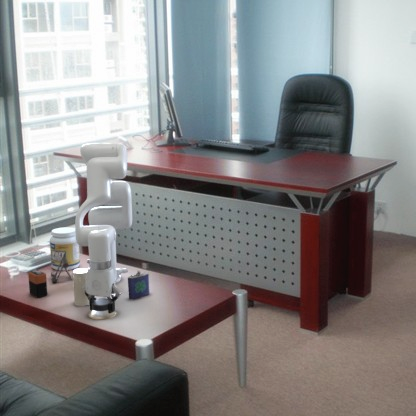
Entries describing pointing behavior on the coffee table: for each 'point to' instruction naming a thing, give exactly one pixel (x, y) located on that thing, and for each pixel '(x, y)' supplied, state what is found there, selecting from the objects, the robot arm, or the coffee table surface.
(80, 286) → the jar
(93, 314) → the coaster
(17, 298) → the coffee table surface
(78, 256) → the supplement tub
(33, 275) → the battery
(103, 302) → the lid
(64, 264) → the tablet stand
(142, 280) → the flask
